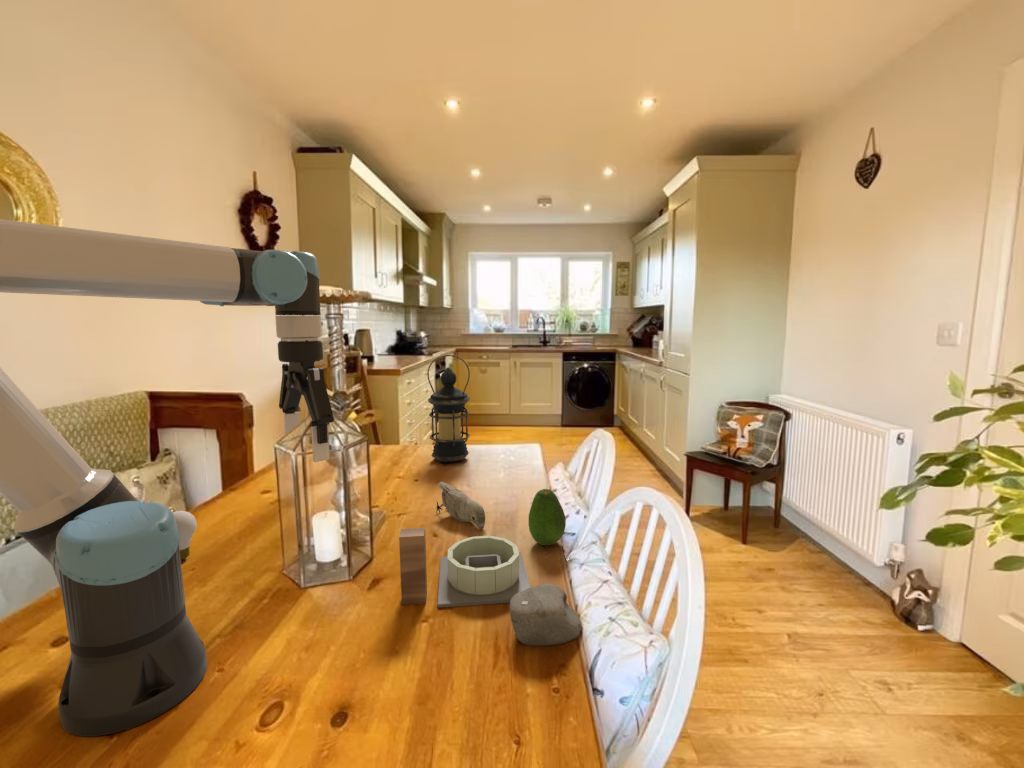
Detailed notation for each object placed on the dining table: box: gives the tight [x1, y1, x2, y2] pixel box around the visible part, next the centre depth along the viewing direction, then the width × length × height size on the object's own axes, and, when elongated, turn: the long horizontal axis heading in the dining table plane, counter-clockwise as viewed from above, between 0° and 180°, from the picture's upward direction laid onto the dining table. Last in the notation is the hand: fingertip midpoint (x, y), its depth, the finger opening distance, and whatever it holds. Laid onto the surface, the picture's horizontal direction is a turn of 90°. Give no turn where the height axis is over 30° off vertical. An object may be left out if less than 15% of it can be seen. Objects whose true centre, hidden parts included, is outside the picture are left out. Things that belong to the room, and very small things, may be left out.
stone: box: [509, 583, 584, 647], centre depth 74 cm, size 9×9×10 cm
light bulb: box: [172, 510, 198, 562], centre depth 95 cm, size 6×6×10 cm
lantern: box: [426, 354, 471, 463], centre depth 159 cm, size 14×13×35 cm
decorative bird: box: [435, 481, 486, 531], centre depth 114 cm, size 5×16×8 cm, turn 43°
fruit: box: [528, 488, 567, 546], centre depth 101 cm, size 8×8×12 cm
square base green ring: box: [437, 535, 531, 608], centre depth 88 cm, size 16×16×5 cm
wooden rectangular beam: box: [398, 527, 428, 606], centre depth 82 cm, size 3×4×12 cm
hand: (306, 452), depth 91 cm, fingers open, 13 cm apart
